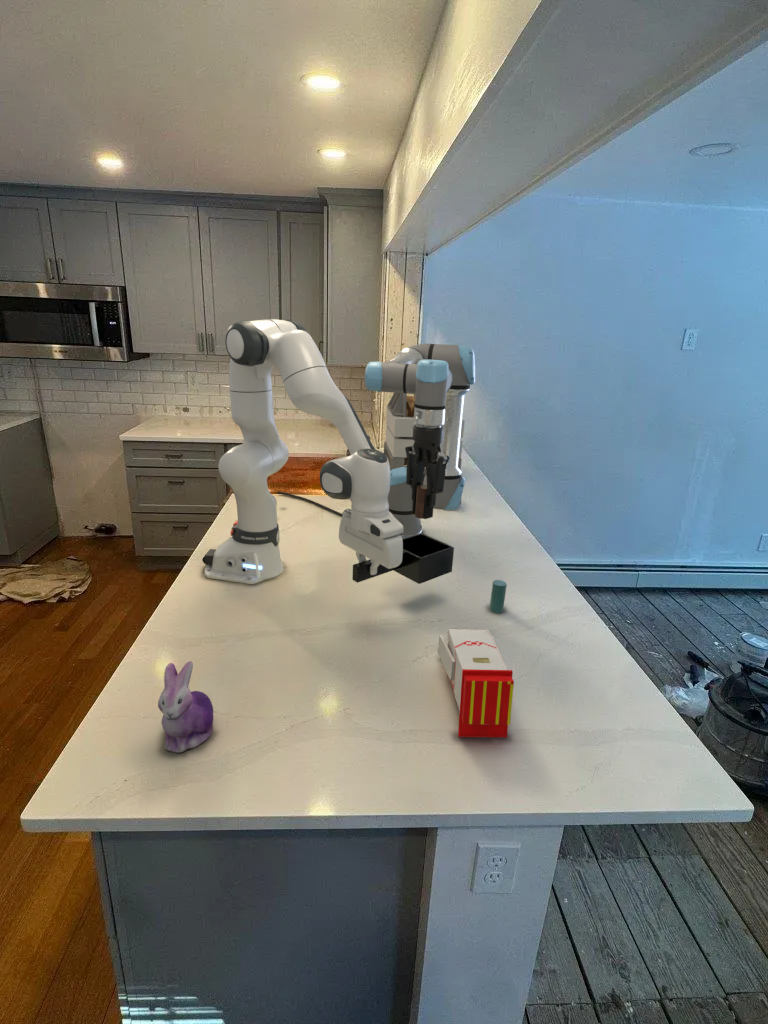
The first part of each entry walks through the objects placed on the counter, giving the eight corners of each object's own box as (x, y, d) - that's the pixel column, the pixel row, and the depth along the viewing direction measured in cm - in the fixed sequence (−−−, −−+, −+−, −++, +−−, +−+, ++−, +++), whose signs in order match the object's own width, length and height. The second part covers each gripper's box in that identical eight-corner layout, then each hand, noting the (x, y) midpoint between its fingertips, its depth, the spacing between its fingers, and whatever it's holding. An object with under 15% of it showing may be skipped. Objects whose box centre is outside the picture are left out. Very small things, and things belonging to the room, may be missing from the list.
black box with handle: (339, 583, 142) (339, 557, 139) (420, 556, 159) (421, 532, 157) (370, 602, 133) (371, 575, 131) (452, 571, 151) (454, 547, 148)
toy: (488, 613, 130) (523, 677, 101) (484, 667, 133) (517, 744, 104) (435, 612, 130) (455, 676, 101) (432, 666, 133) (451, 743, 103)
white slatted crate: (382, 463, 289) (386, 382, 275) (445, 464, 293) (451, 384, 279) (390, 482, 257) (394, 392, 243) (460, 483, 261) (468, 394, 247)
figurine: (165, 763, 97) (157, 690, 92) (158, 725, 105) (150, 656, 100) (221, 746, 101) (217, 675, 96) (210, 711, 109) (205, 644, 104)
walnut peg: (412, 515, 146) (414, 486, 144) (422, 513, 149) (424, 483, 146) (421, 519, 144) (423, 489, 141) (431, 517, 146) (434, 487, 143)
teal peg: (486, 608, 152) (490, 582, 149) (495, 604, 154) (498, 578, 152) (497, 614, 150) (500, 587, 147) (505, 610, 152) (509, 583, 149)
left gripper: (333, 508, 139) (332, 559, 144) (387, 534, 125) (385, 590, 129) (353, 503, 143) (352, 553, 148) (408, 528, 129) (405, 583, 133)
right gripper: (394, 420, 142) (390, 509, 150) (442, 432, 130) (434, 528, 138) (416, 418, 147) (411, 504, 154) (464, 429, 135) (455, 522, 143)
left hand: (367, 571), depth 139 cm, fingers closed on black box with handle
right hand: (422, 515), depth 146 cm, fingers closed on walnut peg, 3 cm apart
